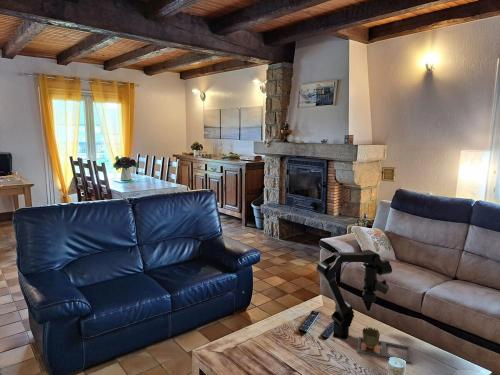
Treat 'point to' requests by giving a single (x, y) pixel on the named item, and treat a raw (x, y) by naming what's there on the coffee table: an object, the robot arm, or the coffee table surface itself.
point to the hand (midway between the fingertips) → (368, 306)
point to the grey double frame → (383, 349)
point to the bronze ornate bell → (370, 337)
